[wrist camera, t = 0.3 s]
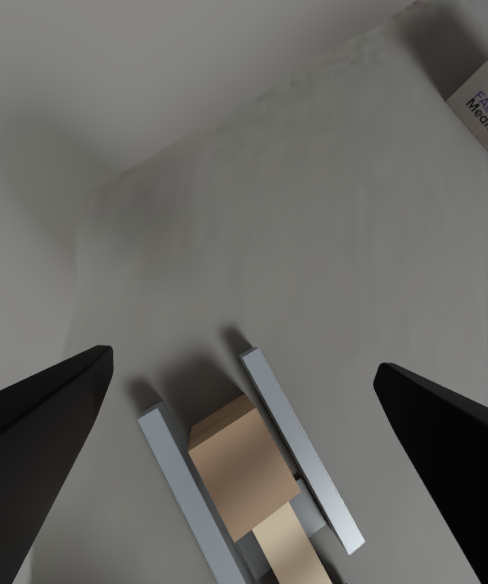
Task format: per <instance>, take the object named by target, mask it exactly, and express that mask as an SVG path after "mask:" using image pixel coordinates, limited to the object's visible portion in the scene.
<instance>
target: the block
mask: <svg viewBox="0 0 488 584" xmlns="http://www.w3.org/2000/svg"><path fill="white" fill-rule="evenodd" d="M188 453H189V455H190V457H191V459H192V461H193V463H194V465H195V467H196V468H197V470H198V472H199V474H200V476H201V478H202V480H203V482H204V484H205V486H206V488H207V490H208V492H209V494H210V496H211V498H212V500H213V502H214V504H215V506H216V508H217V510H218V512H219V514H220V516H221V518H222V520H223V522H224V524H225V526H226V528H227V530H228V532H229V534H230V536H231V538H232V540H233V542H234V543H235V542H236V541H237V540H239V539H240V538H241V537H243V536H244V535H245V534H247V533H248V532H249V531H250V530H252V529H253V528H254V527H256V526H257V525H258V524H260V523H261V522H262V521H264V520H265V519H266V518H267V517H269V516H270V515H271V514H273V513H274V512H275V511H277V510H278V509H279V508H281V507H282V506H283V505H285V504H286V503H287V502H288V501H290V500H291V499H292V498H294V497H295V496H296V495H298V494H299V493H300V492H301V490H300V488H299V486H298V484H297V483H296V481H295V479H294V477H293V475H292V473H291V471H290V470H289V468H288V466H287V464H286V462H285V460H284V458H283V457H282V455H281V453H280V451H279V449H278V447H277V445H276V444H275V442H274V440H273V438H272V436H271V434H270V432H269V431H268V429H267V427H266V425H265V423H264V421H263V419H262V417H261V416H260V414H259V412H258V410H257V408H256V407H255V406H254V404H253V403H252V402H251V401H250V399H249V398H248V397H247V396H246V394H243V395H241V396H240V397H238V398H237V399H235V400H233V401H232V402H230V403H229V404H227V405H225V406H224V407H222V408H221V409H219V410H217V411H216V412H214V413H213V414H211V415H210V416H208V417H206V418H205V419H203V420H202V421H200V422H198V423H197V424H195V425H194V426H192V427H191V432H190V440H189V448H188Z"/></svg>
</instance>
